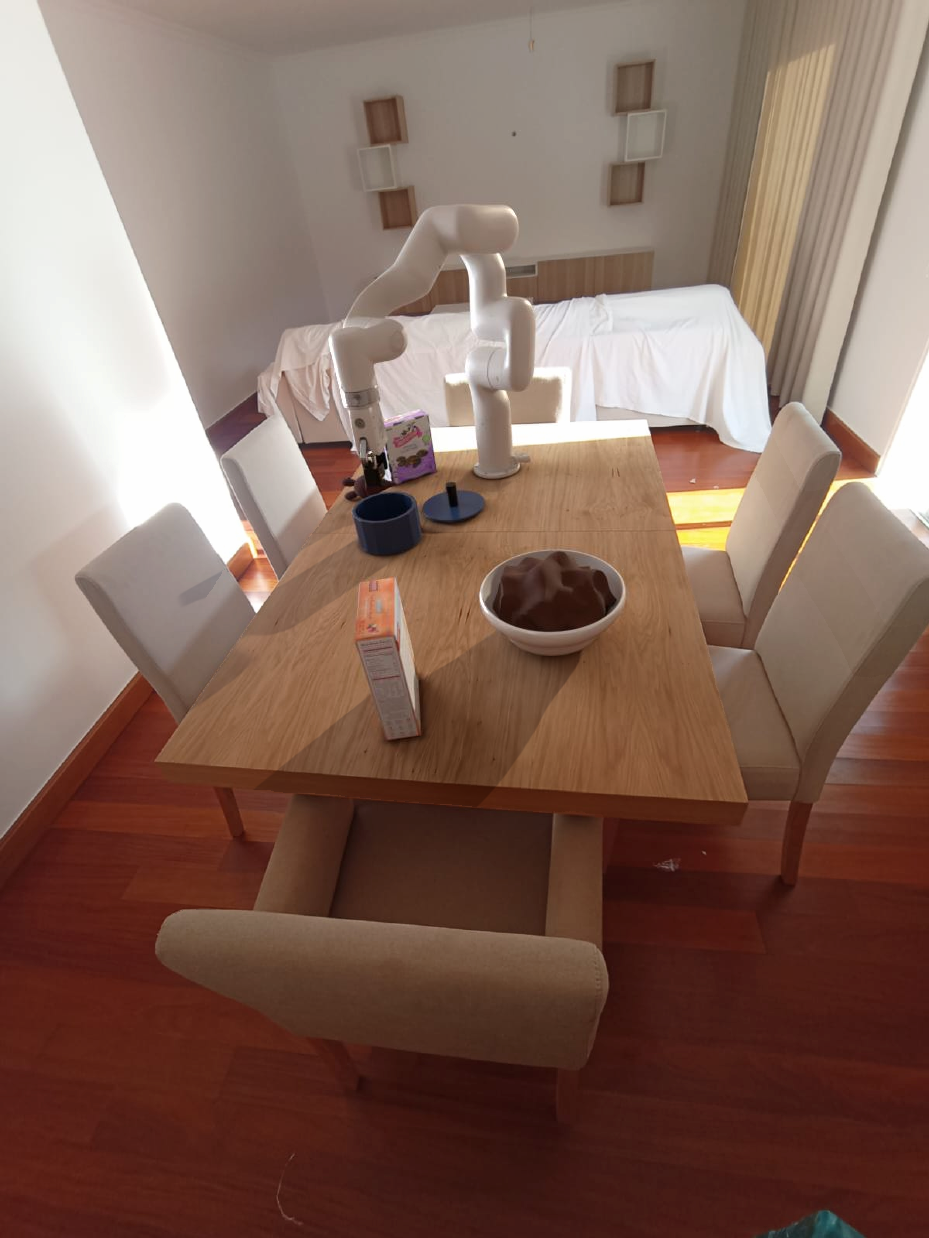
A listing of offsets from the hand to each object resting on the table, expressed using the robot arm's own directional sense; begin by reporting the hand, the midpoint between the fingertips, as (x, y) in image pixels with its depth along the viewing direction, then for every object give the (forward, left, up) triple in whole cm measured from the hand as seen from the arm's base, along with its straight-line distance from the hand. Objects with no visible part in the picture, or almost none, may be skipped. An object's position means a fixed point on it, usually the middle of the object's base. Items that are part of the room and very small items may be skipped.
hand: (377, 477), depth 131 cm
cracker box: (-11, +54, -16) cm, 57 cm away
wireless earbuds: (0, 0, -1) cm, 1 cm away
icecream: (+9, -22, -16) cm, 29 cm away
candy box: (0, -34, -16) cm, 38 cm away
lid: (-14, -13, -15) cm, 24 cm away
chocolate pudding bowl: (-36, +36, -16) cm, 53 cm away
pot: (0, 0, -16) cm, 16 cm away
